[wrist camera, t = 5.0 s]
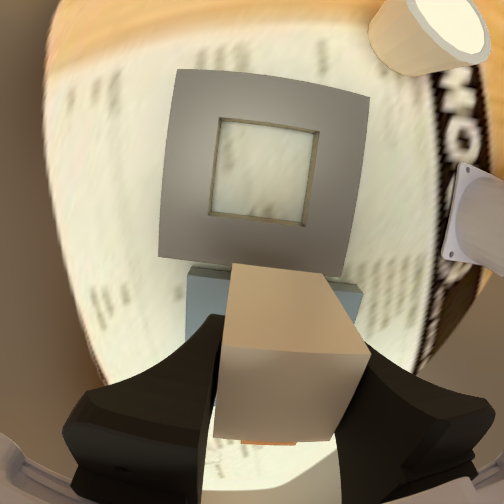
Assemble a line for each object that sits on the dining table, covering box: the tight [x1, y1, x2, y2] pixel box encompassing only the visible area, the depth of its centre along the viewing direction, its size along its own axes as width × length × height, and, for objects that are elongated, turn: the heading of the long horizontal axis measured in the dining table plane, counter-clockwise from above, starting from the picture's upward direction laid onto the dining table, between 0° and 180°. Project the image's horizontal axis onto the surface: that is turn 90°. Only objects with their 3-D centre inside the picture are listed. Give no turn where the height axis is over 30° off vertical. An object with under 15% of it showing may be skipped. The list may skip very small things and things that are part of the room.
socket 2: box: [185, 267, 363, 406], centre depth 21 cm, size 12×12×2 cm
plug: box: [213, 263, 371, 445], centre depth 11 cm, size 4×5×6 cm
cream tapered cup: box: [368, 0, 491, 77], centre depth 12 cm, size 7×7×7 cm
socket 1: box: [158, 69, 370, 277], centre depth 17 cm, size 12×12×2 cm
